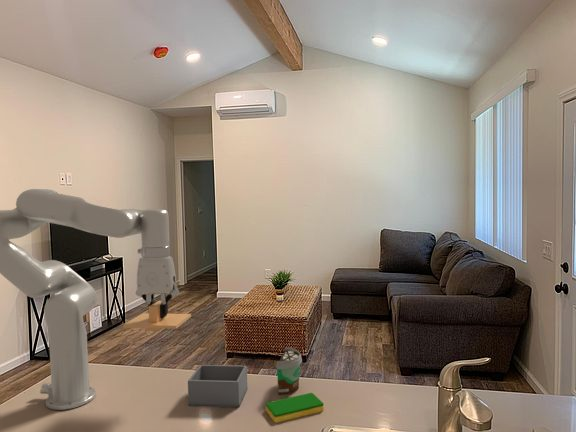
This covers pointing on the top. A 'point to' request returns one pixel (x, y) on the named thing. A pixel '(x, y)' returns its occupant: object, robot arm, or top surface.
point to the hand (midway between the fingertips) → (158, 316)
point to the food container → (288, 371)
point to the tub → (217, 386)
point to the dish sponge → (294, 407)
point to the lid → (157, 320)
